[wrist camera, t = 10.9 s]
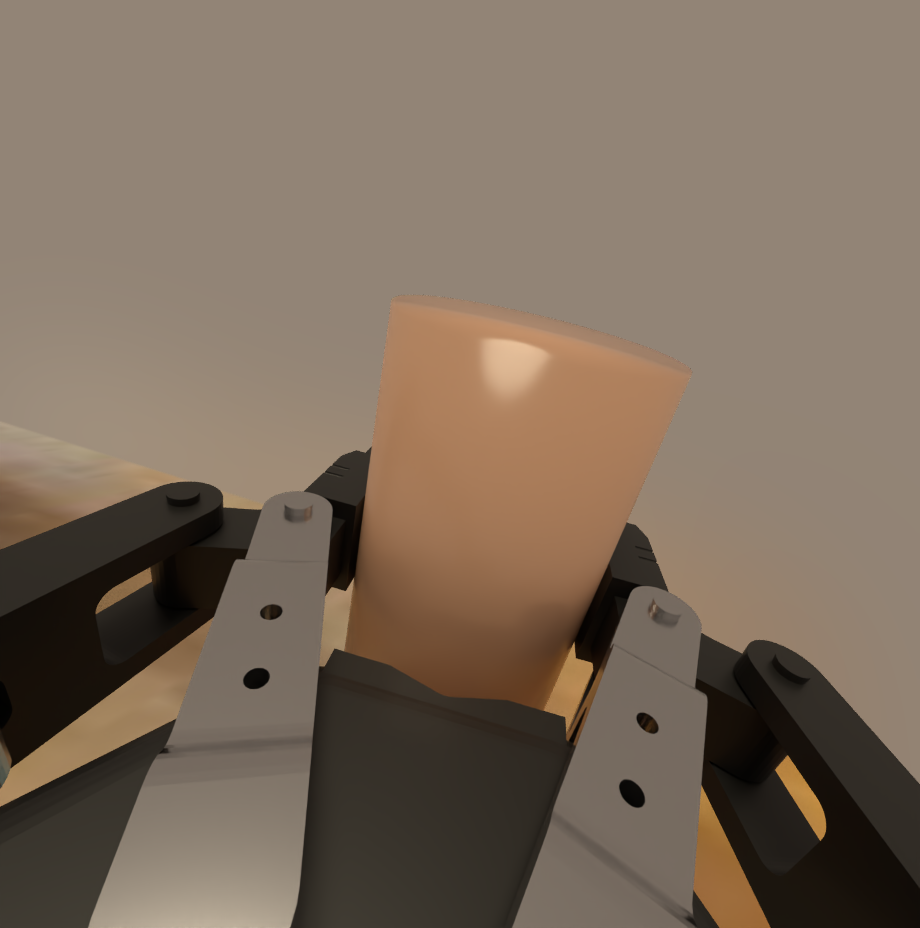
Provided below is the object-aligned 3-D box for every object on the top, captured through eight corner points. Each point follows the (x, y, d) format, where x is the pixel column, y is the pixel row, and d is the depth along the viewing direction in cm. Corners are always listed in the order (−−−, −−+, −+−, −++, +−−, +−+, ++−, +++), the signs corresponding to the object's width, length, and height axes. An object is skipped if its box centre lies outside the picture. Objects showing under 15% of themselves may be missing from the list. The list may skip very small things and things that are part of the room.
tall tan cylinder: (295, 817, 11) (339, 307, 6) (369, 650, 16) (430, 289, 10) (503, 885, 10) (748, 407, 5) (515, 693, 15) (651, 342, 10)
